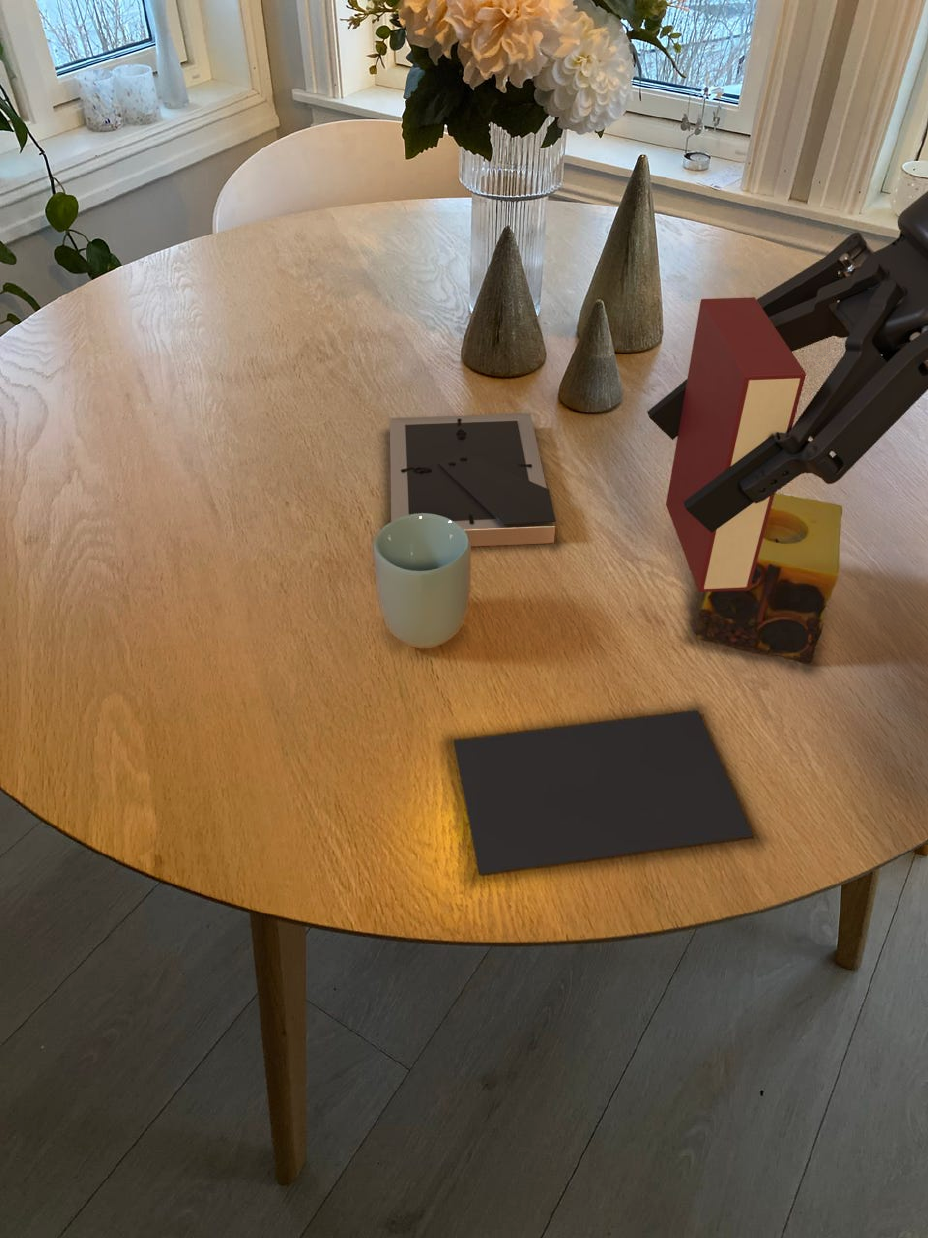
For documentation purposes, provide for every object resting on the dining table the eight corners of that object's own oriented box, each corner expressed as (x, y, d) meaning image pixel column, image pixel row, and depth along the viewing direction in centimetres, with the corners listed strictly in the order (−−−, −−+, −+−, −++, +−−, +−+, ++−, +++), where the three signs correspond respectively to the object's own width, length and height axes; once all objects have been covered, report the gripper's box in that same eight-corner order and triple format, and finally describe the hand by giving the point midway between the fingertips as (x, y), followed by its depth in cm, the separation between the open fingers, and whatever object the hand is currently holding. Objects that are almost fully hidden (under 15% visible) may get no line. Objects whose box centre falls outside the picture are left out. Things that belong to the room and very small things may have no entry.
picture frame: (553, 543, 94) (529, 428, 109) (555, 520, 92) (530, 406, 107) (392, 550, 93) (390, 433, 108) (391, 526, 91) (389, 411, 106)
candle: (811, 667, 81) (842, 578, 75) (691, 640, 84) (712, 551, 77) (819, 592, 88) (848, 504, 82) (708, 569, 91) (728, 482, 84)
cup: (487, 629, 85) (489, 541, 78) (423, 675, 81) (419, 585, 74) (426, 588, 89) (423, 501, 82) (363, 630, 85) (353, 541, 78)
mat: (697, 713, 78) (698, 710, 77) (753, 837, 69) (753, 835, 69) (453, 743, 75) (453, 740, 75) (479, 875, 67) (479, 873, 67)
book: (665, 504, 71) (700, 298, 61) (711, 502, 72) (755, 296, 61) (698, 592, 64) (745, 375, 53) (750, 590, 64) (807, 373, 53)
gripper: (1140, 359, 47) (758, 611, 57) (940, 196, 64) (672, 414, 73) (1082, 254, 43) (684, 545, 53) (886, 110, 60) (610, 352, 70)
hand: (677, 469), depth 63 cm, fingers closed on book, 10 cm apart
